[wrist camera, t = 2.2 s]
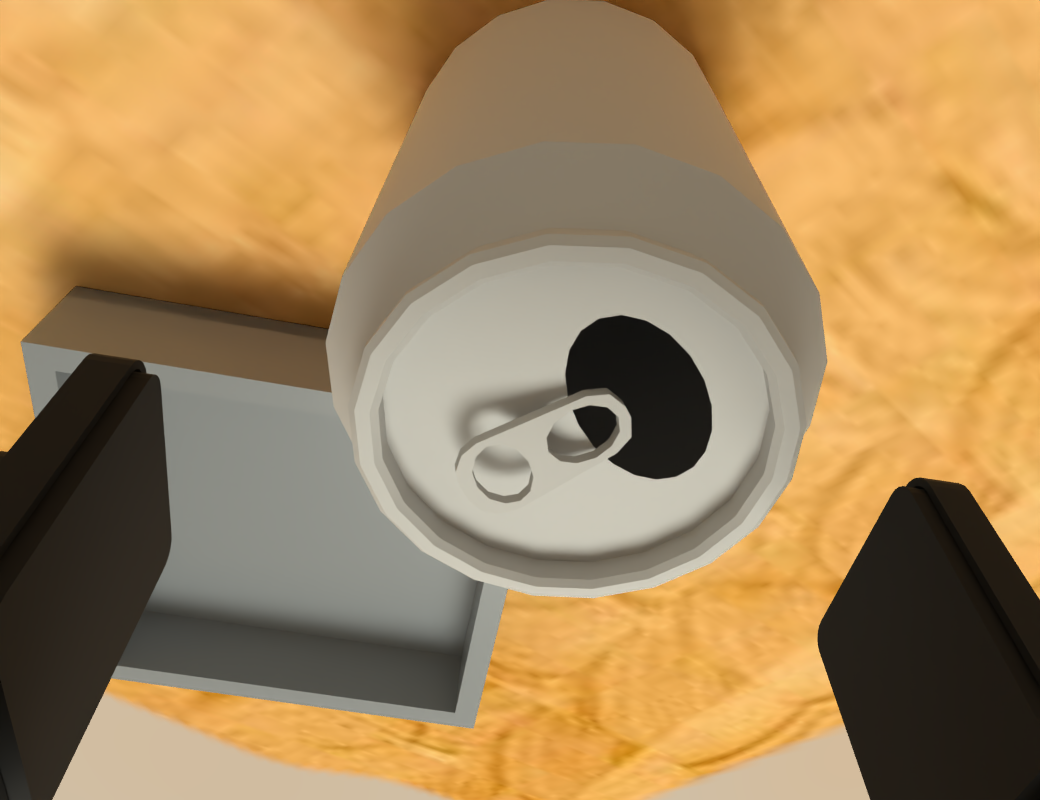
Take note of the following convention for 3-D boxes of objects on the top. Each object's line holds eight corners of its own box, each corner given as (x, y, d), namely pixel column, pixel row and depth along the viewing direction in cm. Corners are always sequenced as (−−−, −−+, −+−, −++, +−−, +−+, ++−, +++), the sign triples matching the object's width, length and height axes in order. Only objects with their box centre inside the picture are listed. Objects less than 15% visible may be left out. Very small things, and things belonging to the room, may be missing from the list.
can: (758, 222, 22) (914, 557, 12) (499, 327, 24) (460, 684, 15) (656, -74, 18) (765, 73, 9) (360, 79, 21) (179, 337, 11)
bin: (548, 366, 25) (547, 428, 23) (479, 658, 33) (473, 728, 30) (75, 285, 24) (20, 341, 22) (119, 606, 32) (82, 674, 29)
